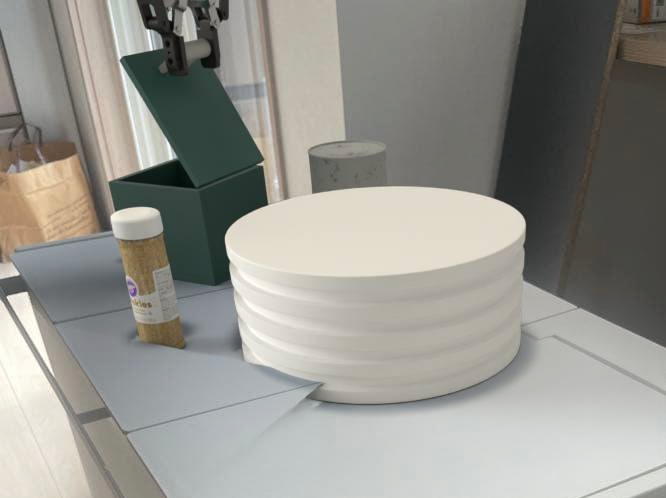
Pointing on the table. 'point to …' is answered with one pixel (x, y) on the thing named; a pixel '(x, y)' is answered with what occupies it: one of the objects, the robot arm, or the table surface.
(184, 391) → the table surface
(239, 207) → the chest
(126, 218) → the sprinkles bottle
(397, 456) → the table surface
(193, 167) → the lid
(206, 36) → the robot arm
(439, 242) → the plate stack
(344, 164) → the speckled concrete cylinder
